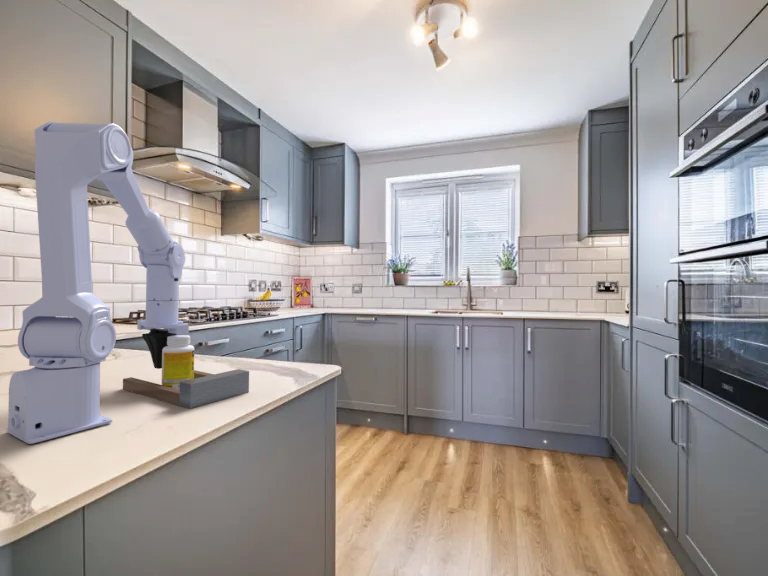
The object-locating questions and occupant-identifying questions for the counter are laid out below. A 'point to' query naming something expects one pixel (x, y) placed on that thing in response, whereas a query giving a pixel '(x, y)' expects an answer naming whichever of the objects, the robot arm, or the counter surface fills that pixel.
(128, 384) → the guide rails
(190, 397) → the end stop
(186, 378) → the supplement bottle
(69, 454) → the counter surface
